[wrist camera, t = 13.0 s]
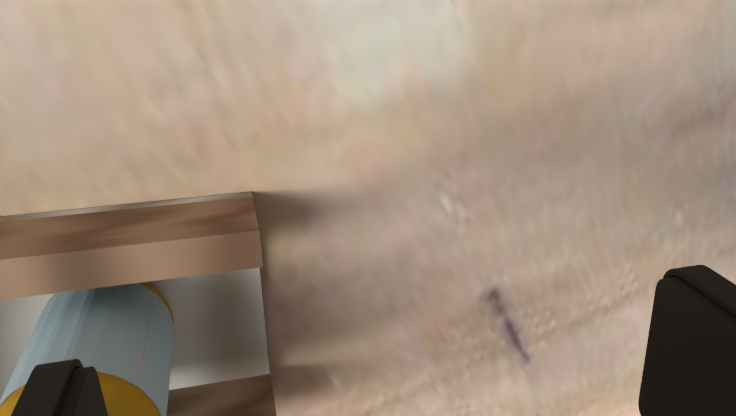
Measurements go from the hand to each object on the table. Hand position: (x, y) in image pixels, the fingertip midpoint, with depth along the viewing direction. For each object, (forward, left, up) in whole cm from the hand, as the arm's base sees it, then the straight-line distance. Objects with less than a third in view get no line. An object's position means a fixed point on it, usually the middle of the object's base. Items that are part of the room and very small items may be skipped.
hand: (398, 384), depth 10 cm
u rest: (+9, +13, -26) cm, 30 cm away
